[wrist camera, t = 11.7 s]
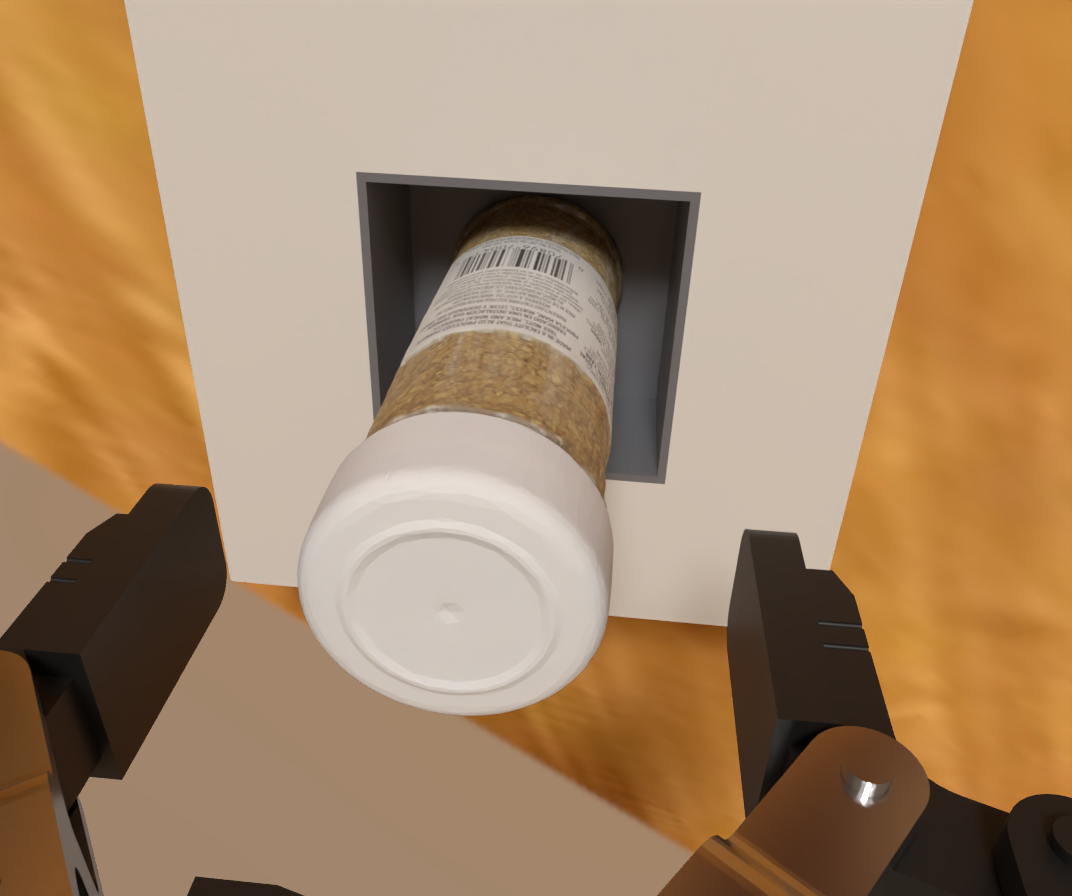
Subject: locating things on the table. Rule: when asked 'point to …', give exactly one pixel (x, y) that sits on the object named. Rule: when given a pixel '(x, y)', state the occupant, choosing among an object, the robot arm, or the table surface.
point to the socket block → (570, 175)
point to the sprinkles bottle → (482, 479)
